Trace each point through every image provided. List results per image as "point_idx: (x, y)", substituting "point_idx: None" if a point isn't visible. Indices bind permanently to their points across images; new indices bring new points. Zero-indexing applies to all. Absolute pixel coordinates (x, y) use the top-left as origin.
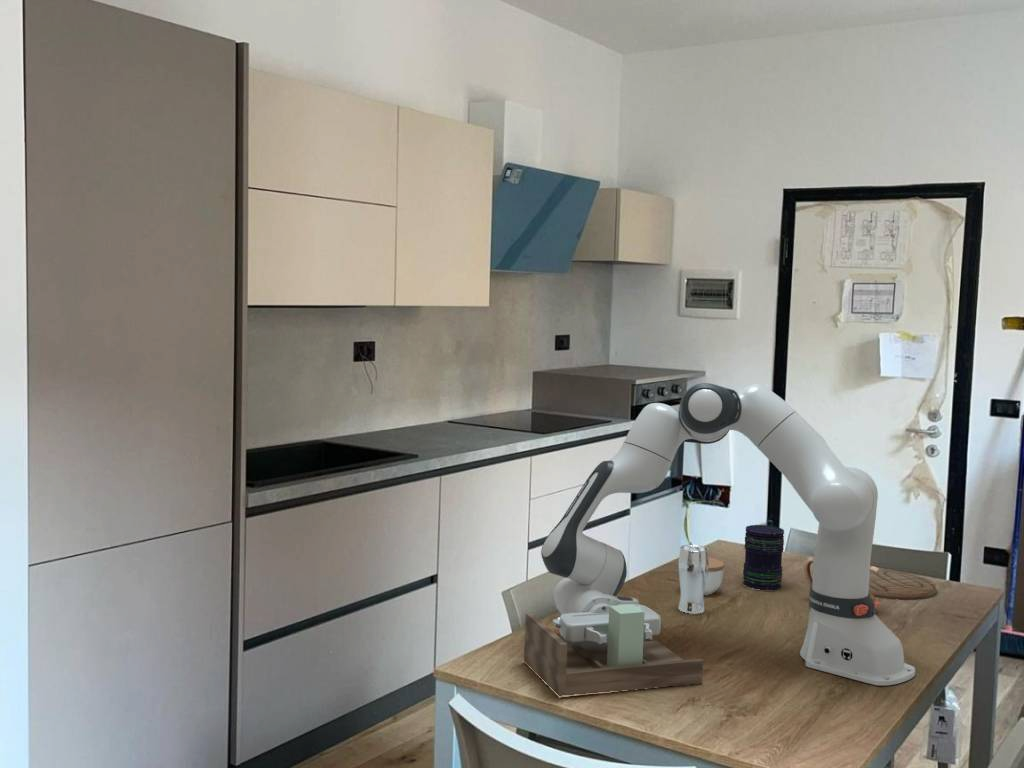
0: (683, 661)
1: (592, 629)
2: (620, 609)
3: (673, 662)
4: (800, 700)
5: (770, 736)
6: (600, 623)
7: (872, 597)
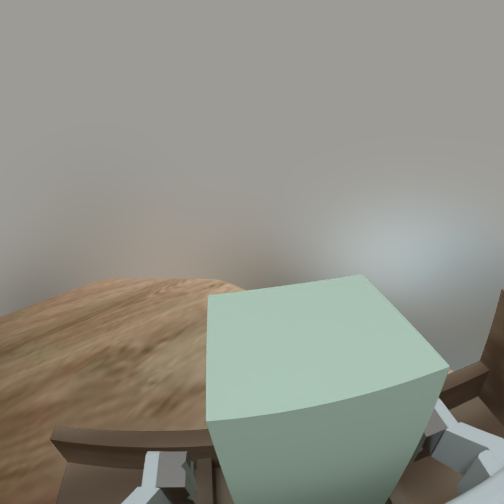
0: (106, 436)
1: (483, 453)
2: (358, 318)
3: (140, 437)
4: (14, 365)
5: (143, 307)
6: (456, 499)
7: None
